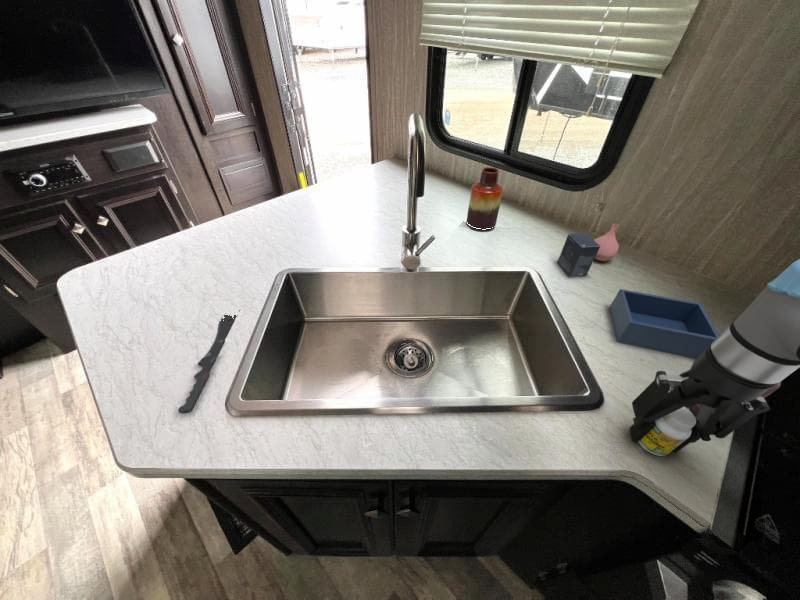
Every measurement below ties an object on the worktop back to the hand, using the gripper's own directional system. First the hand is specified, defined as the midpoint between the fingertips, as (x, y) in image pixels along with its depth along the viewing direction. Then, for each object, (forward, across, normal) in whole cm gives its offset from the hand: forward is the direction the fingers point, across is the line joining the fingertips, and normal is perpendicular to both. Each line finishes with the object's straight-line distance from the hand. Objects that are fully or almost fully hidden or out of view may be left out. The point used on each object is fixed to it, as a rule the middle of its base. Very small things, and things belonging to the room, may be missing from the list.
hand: (651, 440), depth 58 cm
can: (+1, -12, -10) cm, 16 cm away
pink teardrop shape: (+1, +1, -62) cm, 62 cm away
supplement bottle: (+1, 0, 0) cm, 1 cm away
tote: (0, -7, -31) cm, 32 cm away
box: (+1, +10, -53) cm, 54 cm away
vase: (+1, +41, -73) cm, 83 cm away
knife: (0, +92, +8) cm, 93 cm away
